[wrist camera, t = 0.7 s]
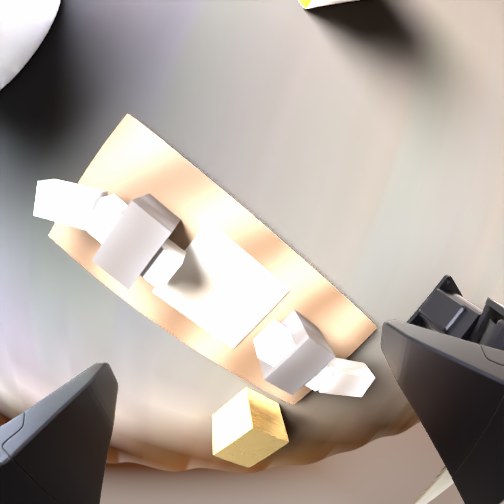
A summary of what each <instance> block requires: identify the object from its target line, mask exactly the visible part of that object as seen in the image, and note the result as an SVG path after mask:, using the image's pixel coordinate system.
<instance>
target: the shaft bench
mask: <svg viewBox="0 0 504 504" xmlns="http://www.w3.org/2000/svg"><path fill="white" fill-rule="evenodd" d="M33 216H37V217H40V218H44V219H48V220H51V221H55V224H54V226H53V228H52V229H51V231H50V233H49V235H48V236H49V237H50V238H51V239H52V240H54V241H55V242H56V243H57V244H58V245H59V246H60V247H61V248H62V249H63V250H64V251H66V252H67V253H68V254H69V255H70V256H71V257H72V258H73V259H75V260H76V261H77V262H78V263H79V264H80V265H81V266H83V267H84V268H85V269H86V270H87V271H88V272H90V273H91V274H92V275H93V276H94V277H96V278H97V279H98V280H99V281H101V282H102V283H103V284H104V285H105V286H107V287H108V288H109V289H110V290H112V291H113V292H114V293H116V294H117V295H118V296H119V297H121V298H122V299H123V300H125V301H126V302H127V303H129V304H130V305H131V306H133V307H134V308H135V309H137V310H138V311H139V312H141V313H142V314H143V315H145V316H146V317H147V318H149V319H150V320H152V321H153V322H154V323H156V324H157V325H159V326H160V327H162V328H163V329H164V330H166V331H167V332H169V333H170V334H172V335H173V336H175V337H176V338H178V339H179V340H181V341H182V342H184V343H185V344H187V345H188V346H190V347H191V348H193V349H195V350H196V351H198V352H199V353H201V354H202V355H204V356H206V357H207V358H209V359H210V360H212V361H214V362H215V363H217V364H219V365H220V366H222V367H224V368H225V369H227V370H229V371H230V372H232V373H234V374H236V375H237V376H239V377H241V378H243V379H244V380H246V381H248V382H250V383H251V384H253V385H255V386H257V387H259V388H261V389H262V390H264V391H266V392H268V393H270V394H272V395H274V396H276V397H278V398H280V399H282V400H284V401H285V402H287V403H289V404H291V405H294V404H296V403H297V402H298V401H299V400H301V399H302V398H303V397H304V396H305V395H307V394H308V393H309V392H310V391H311V390H314V391H317V390H318V391H319V393H327V394H335V395H344V396H354V397H362V396H363V395H364V393H365V392H366V390H367V389H368V388H369V386H370V385H371V383H372V382H373V380H374V379H375V377H374V375H373V374H372V373H371V371H370V370H369V368H368V367H367V366H366V364H365V363H362V362H356V361H351V360H346V359H347V358H348V357H349V356H350V355H351V354H352V353H353V352H354V351H355V350H356V349H357V348H358V347H359V346H360V345H361V344H362V343H363V342H364V341H365V340H366V339H367V338H368V337H369V336H370V335H371V334H372V333H373V332H374V330H375V329H376V328H377V326H376V325H375V324H374V323H373V322H372V321H371V320H370V319H369V318H368V317H367V316H366V315H365V314H364V313H363V312H362V311H361V310H360V309H359V308H357V307H356V306H355V305H354V304H353V303H352V302H351V301H350V300H349V299H348V298H347V297H345V296H344V295H343V294H342V293H341V292H340V291H339V290H338V289H337V288H336V287H334V286H333V285H332V284H331V283H330V282H329V281H328V280H327V279H326V278H324V277H323V276H322V275H321V274H320V273H319V272H318V271H317V270H316V269H314V268H313V267H312V266H311V265H310V264H309V263H308V262H307V261H305V260H304V259H303V258H302V257H301V256H300V255H299V254H297V253H296V252H295V251H294V250H293V249H292V248H291V247H290V246H288V245H287V244H286V243H285V242H284V241H283V240H282V239H280V238H279V237H278V236H277V235H276V234H275V233H273V232H272V231H271V230H270V229H269V228H268V227H267V226H265V225H264V224H263V223H262V222H261V221H260V220H258V219H257V218H256V217H255V216H254V215H253V214H251V213H250V212H249V211H248V210H247V209H246V208H244V207H243V206H242V205H241V204H240V203H239V202H237V201H236V200H235V199H234V198H233V197H231V196H230V195H229V194H228V193H227V192H225V191H224V190H223V189H222V188H221V187H220V186H218V185H217V184H216V183H215V182H214V181H212V180H211V179H210V178H209V177H208V176H206V175H205V174H204V173H203V172H202V171H200V170H199V169H198V168H197V167H195V166H194V165H193V164H192V163H191V162H189V161H188V160H187V159H186V158H184V157H183V156H182V155H181V154H180V153H178V152H177V151H176V150H175V149H173V148H172V147H171V146H170V145H168V144H167V143H166V142H165V141H164V140H162V139H161V138H160V137H159V136H157V135H156V134H155V133H154V132H152V131H151V130H150V129H149V128H147V127H146V126H145V125H143V124H142V123H141V122H140V121H138V120H137V119H136V118H135V117H133V116H131V115H130V114H128V113H127V114H126V116H125V117H124V118H123V119H122V121H121V122H120V123H119V124H118V126H117V127H116V128H115V130H114V131H113V132H112V134H111V135H110V136H109V138H108V139H107V140H106V142H105V143H104V145H103V146H102V147H101V149H100V150H99V152H98V153H97V154H96V156H95V157H94V159H93V160H92V162H91V163H90V165H89V166H88V168H87V169H86V171H85V172H84V174H83V175H82V177H81V179H80V180H79V182H78V183H77V184H76V183H72V182H67V181H63V180H58V179H49V180H41V181H38V183H37V190H36V197H35V205H34V215H33Z"/></svg>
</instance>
